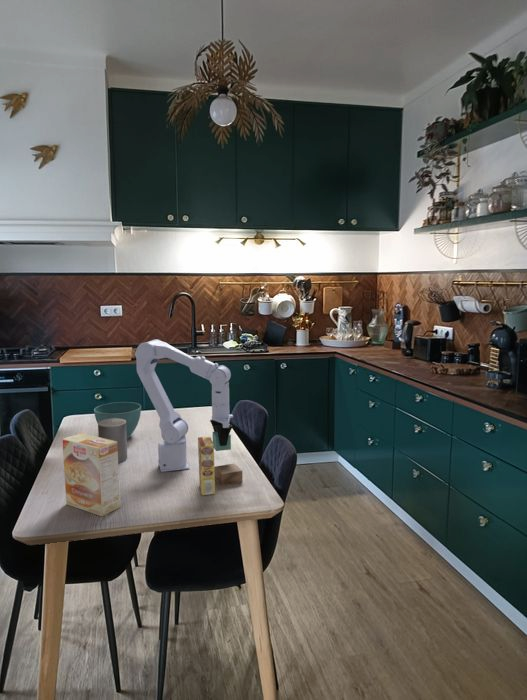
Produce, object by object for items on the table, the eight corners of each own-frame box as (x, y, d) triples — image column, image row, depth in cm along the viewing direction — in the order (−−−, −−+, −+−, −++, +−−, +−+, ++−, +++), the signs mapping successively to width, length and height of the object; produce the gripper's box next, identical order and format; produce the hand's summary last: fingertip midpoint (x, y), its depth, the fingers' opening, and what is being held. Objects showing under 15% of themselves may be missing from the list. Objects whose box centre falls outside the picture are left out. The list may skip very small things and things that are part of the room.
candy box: (215, 494, 153) (214, 445, 151) (201, 496, 152) (200, 446, 150) (211, 483, 161) (211, 436, 159) (198, 484, 161) (197, 437, 158)
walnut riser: (221, 486, 159) (221, 474, 159) (214, 478, 166) (214, 466, 165) (242, 482, 162) (242, 470, 162) (234, 475, 169) (234, 463, 168)
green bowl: (117, 447, 196) (116, 415, 194) (85, 439, 205) (84, 409, 203) (151, 434, 211) (150, 405, 209) (120, 427, 220) (119, 399, 219)
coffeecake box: (65, 504, 147) (61, 438, 144) (85, 495, 153) (82, 432, 150) (101, 517, 139) (97, 447, 136) (121, 507, 145) (118, 440, 142)
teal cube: (216, 451, 168) (215, 436, 167) (212, 446, 173) (212, 431, 172) (230, 449, 170) (230, 434, 169) (227, 444, 174) (226, 430, 174)
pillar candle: (94, 459, 182) (92, 418, 180) (118, 452, 189) (116, 413, 187) (108, 466, 176) (106, 424, 174) (133, 459, 183) (131, 418, 181)
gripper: (238, 407, 163) (238, 448, 165) (227, 397, 177) (227, 435, 179) (216, 409, 161) (217, 450, 163) (206, 398, 175) (207, 437, 177)
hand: (221, 442), depth 171 cm, fingers closed on teal cube, 5 cm apart
